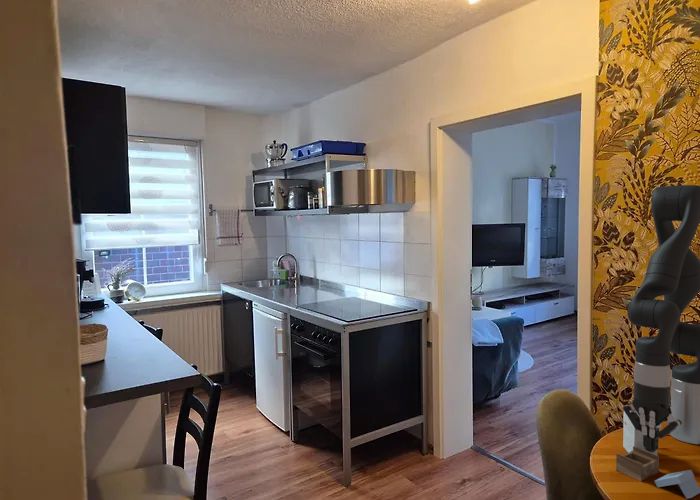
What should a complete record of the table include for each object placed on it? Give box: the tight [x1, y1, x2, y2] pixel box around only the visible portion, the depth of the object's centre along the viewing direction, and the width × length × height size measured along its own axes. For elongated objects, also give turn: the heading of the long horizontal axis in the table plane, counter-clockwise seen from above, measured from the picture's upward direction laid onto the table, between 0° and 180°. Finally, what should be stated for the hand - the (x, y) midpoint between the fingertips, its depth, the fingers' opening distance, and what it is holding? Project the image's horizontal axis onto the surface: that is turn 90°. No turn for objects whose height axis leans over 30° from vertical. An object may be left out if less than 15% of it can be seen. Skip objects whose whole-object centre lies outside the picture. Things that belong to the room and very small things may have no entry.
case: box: [615, 446, 660, 482], centre depth 117 cm, size 8×6×4 cm
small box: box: [622, 410, 658, 455], centre depth 125 cm, size 8×6×10 cm
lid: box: [654, 469, 700, 500], centre depth 109 cm, size 6×6×5 cm
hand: (650, 450), depth 114 cm, fingers closed
